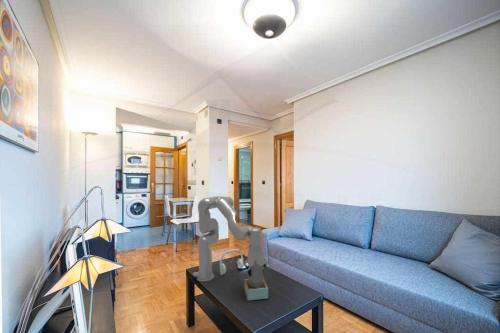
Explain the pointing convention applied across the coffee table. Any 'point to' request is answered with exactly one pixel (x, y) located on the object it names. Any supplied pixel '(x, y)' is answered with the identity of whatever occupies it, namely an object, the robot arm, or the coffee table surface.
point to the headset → (239, 262)
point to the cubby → (248, 286)
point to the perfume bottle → (256, 276)
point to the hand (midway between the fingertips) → (255, 274)
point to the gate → (257, 294)
